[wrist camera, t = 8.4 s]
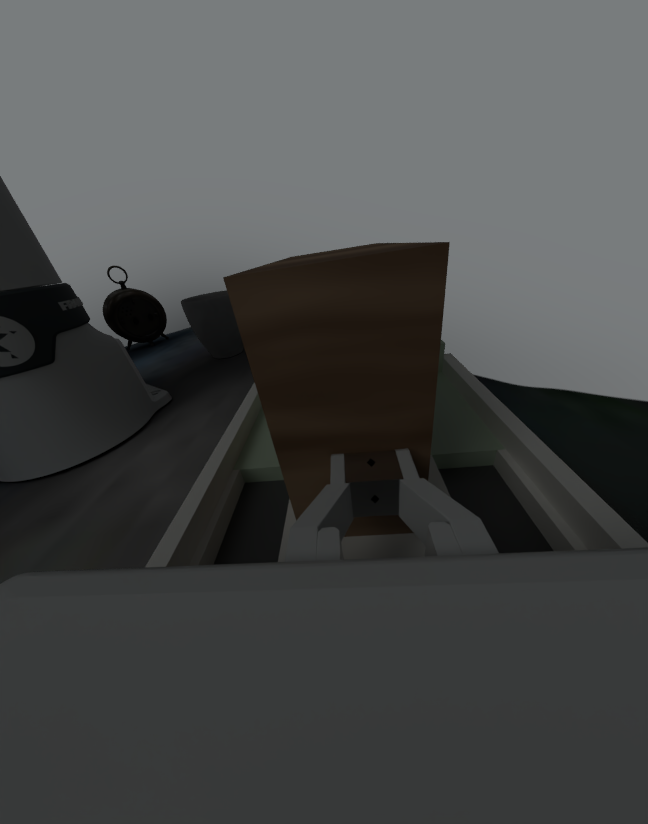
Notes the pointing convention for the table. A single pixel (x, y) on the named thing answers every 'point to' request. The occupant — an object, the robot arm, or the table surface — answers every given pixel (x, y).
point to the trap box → (449, 471)
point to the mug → (214, 323)
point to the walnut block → (345, 358)
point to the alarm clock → (134, 314)
